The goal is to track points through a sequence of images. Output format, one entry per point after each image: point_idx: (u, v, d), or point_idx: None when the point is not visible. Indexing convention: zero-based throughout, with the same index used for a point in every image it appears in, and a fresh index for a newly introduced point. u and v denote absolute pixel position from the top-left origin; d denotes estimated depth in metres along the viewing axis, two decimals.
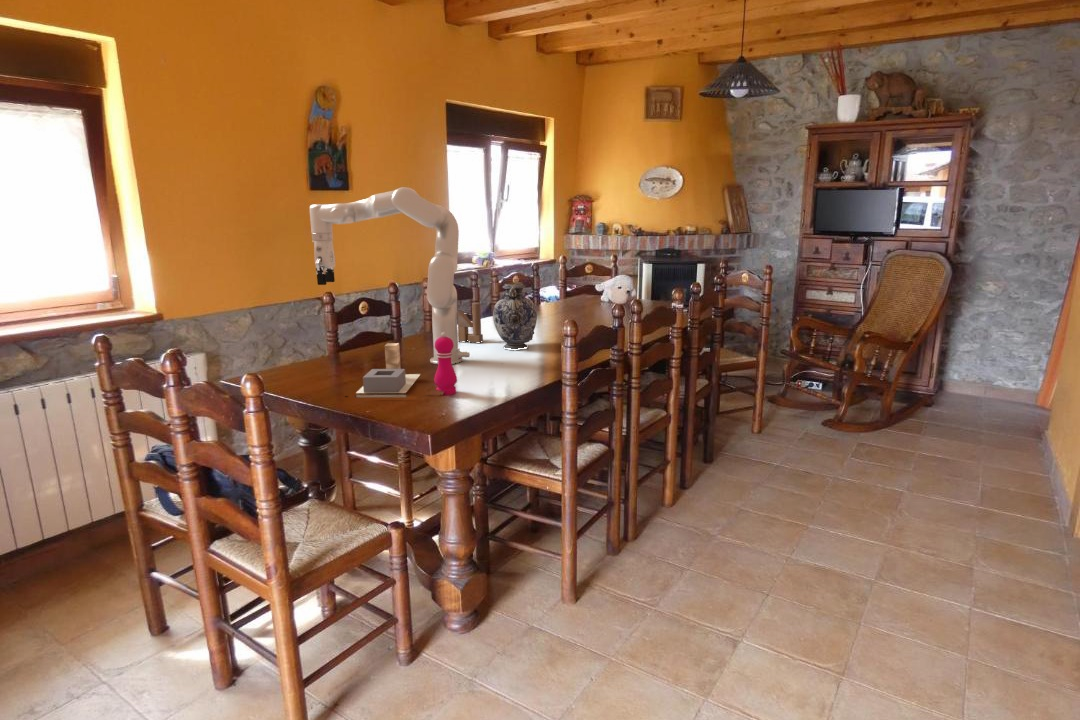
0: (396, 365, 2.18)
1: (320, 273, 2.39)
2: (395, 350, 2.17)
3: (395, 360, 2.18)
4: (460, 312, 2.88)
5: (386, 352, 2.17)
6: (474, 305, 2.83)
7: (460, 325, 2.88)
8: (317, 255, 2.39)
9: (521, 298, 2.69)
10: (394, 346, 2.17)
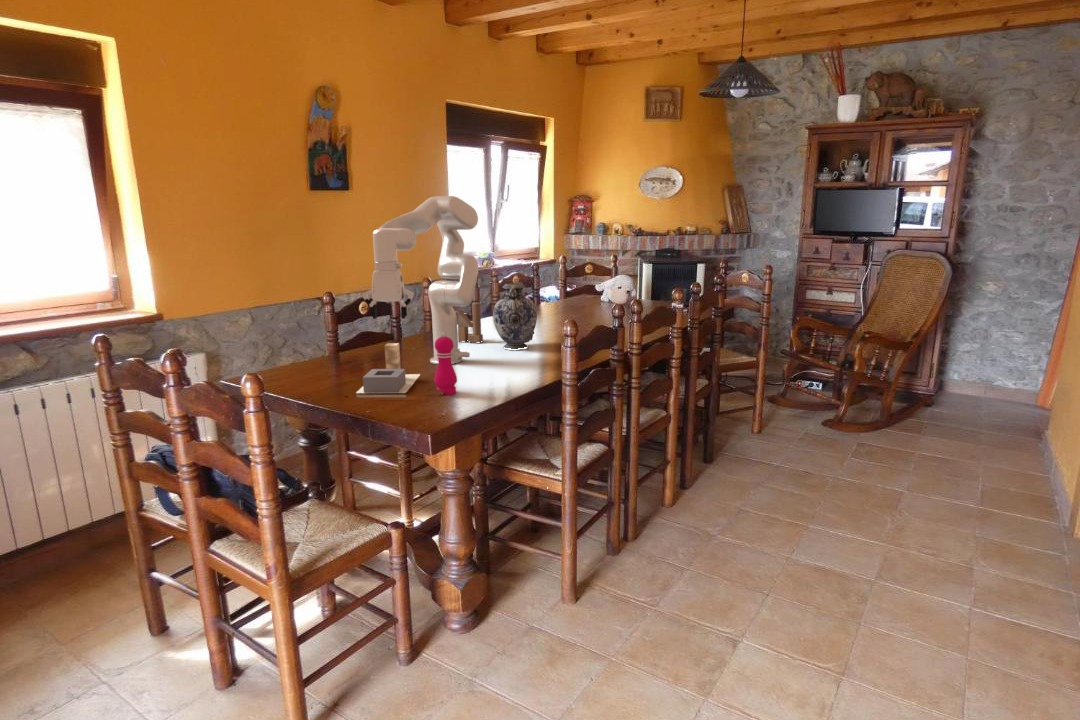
0: (396, 365, 2.18)
1: None
2: (395, 350, 2.17)
3: (395, 360, 2.18)
4: (460, 312, 2.88)
5: (386, 352, 2.17)
6: (474, 305, 2.83)
7: (460, 325, 2.88)
8: (401, 286, 2.14)
9: (521, 298, 2.69)
10: (394, 346, 2.17)
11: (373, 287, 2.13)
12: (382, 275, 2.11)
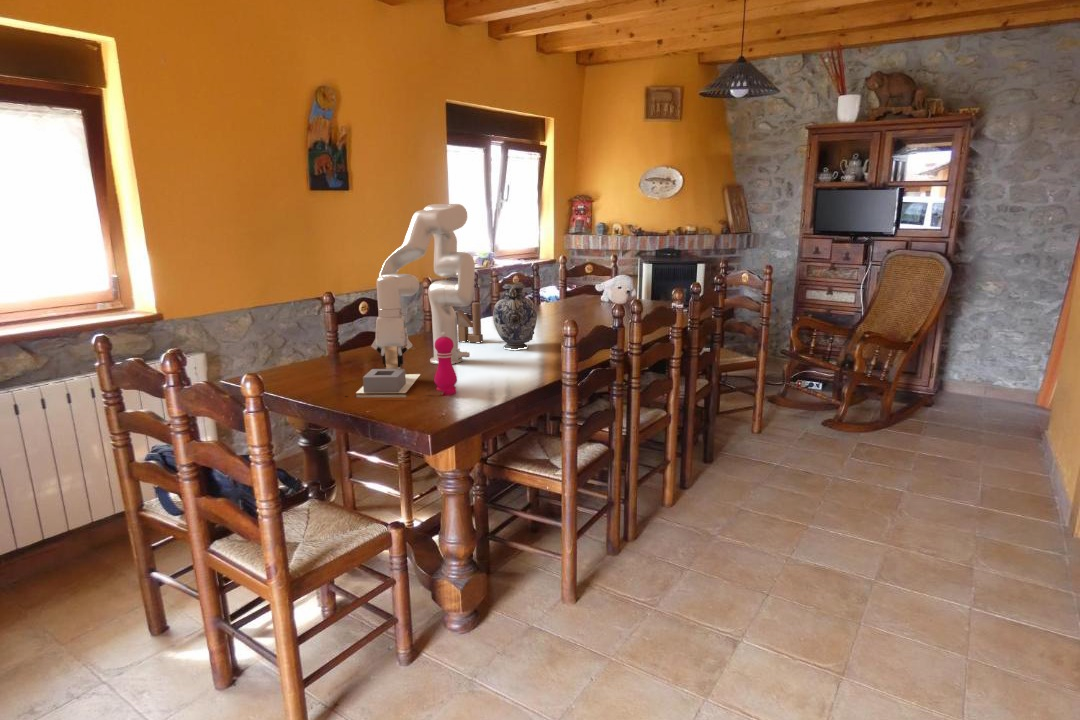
0: (396, 365, 2.18)
1: (402, 354, 2.20)
2: (395, 350, 2.17)
3: (395, 360, 2.18)
4: (460, 312, 2.88)
5: (386, 352, 2.17)
6: (474, 305, 2.83)
7: (460, 325, 2.88)
8: (405, 331, 2.17)
9: (521, 298, 2.69)
10: (394, 346, 2.17)
11: (377, 333, 2.16)
12: (386, 322, 2.15)
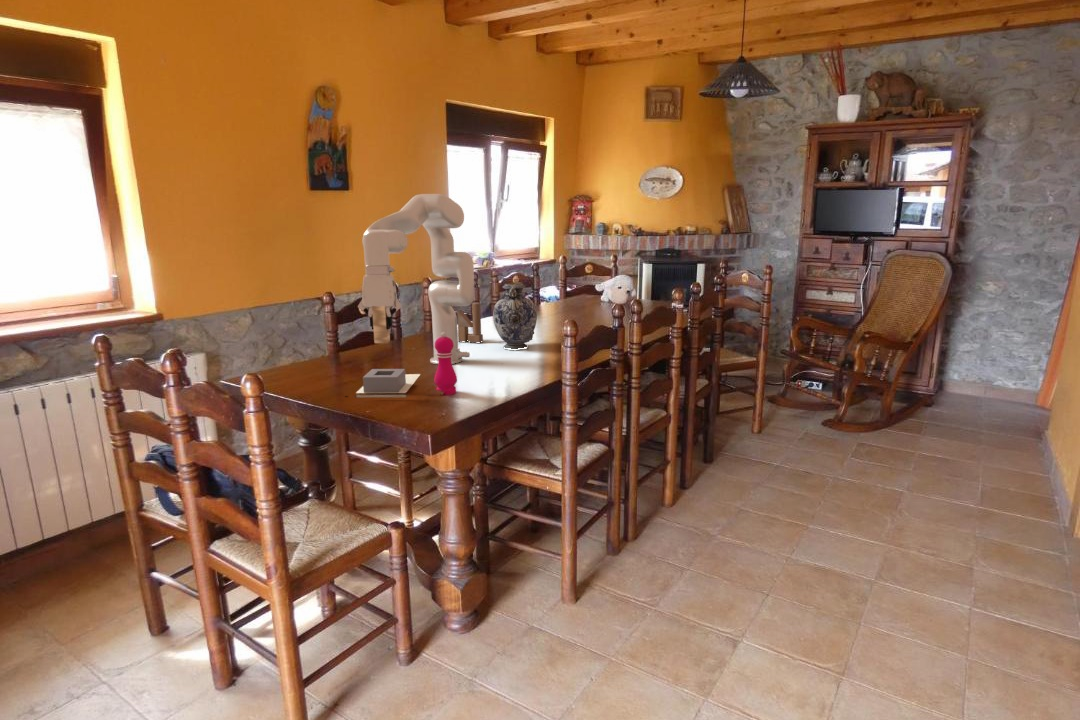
0: (384, 327, 2.03)
1: (391, 316, 2.05)
2: (383, 311, 2.02)
3: (383, 321, 2.03)
4: (460, 312, 2.88)
5: (374, 313, 2.02)
6: (474, 305, 2.83)
7: (460, 325, 2.88)
8: (394, 291, 2.02)
9: (521, 298, 2.69)
10: (382, 306, 2.02)
11: (364, 292, 2.01)
12: (373, 280, 2.00)
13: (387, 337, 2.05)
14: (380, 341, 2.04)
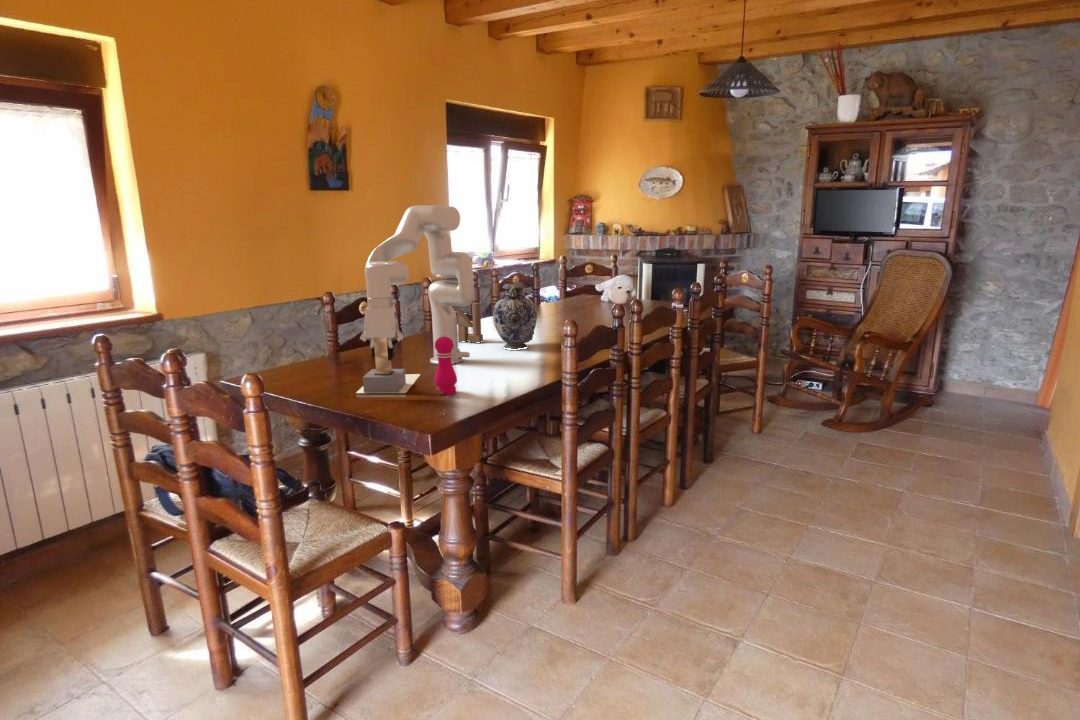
0: (386, 358, 2.05)
1: None
2: (385, 342, 2.04)
3: (385, 353, 2.05)
4: (460, 312, 2.88)
5: (375, 344, 2.04)
6: (474, 305, 2.83)
7: (460, 325, 2.88)
8: (395, 322, 2.04)
9: (521, 298, 2.69)
10: (384, 338, 2.04)
11: (366, 324, 2.03)
12: (375, 312, 2.02)
13: (389, 368, 2.07)
14: (382, 372, 2.06)
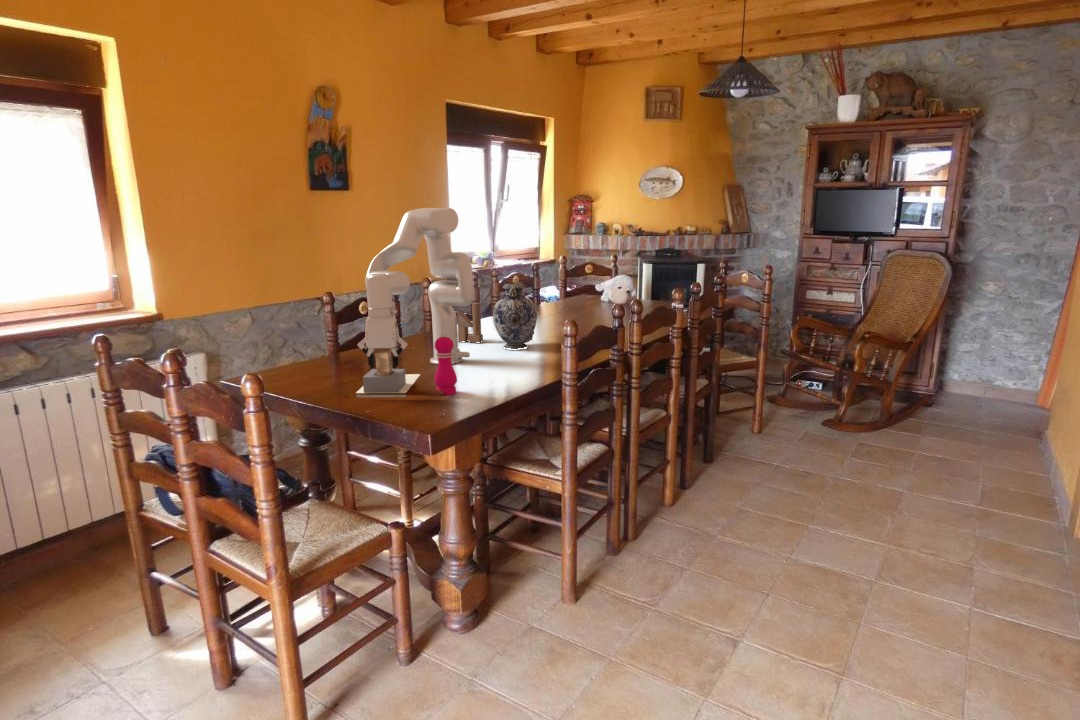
0: (388, 374, 2.07)
1: (398, 354, 2.07)
2: (386, 358, 2.05)
3: (386, 369, 2.06)
4: (460, 312, 2.88)
5: (377, 360, 2.05)
6: (474, 305, 2.83)
7: (460, 325, 2.88)
8: (396, 332, 2.05)
9: (521, 298, 2.69)
10: (385, 354, 2.05)
11: (367, 334, 2.04)
12: (376, 322, 2.02)
13: None
14: None
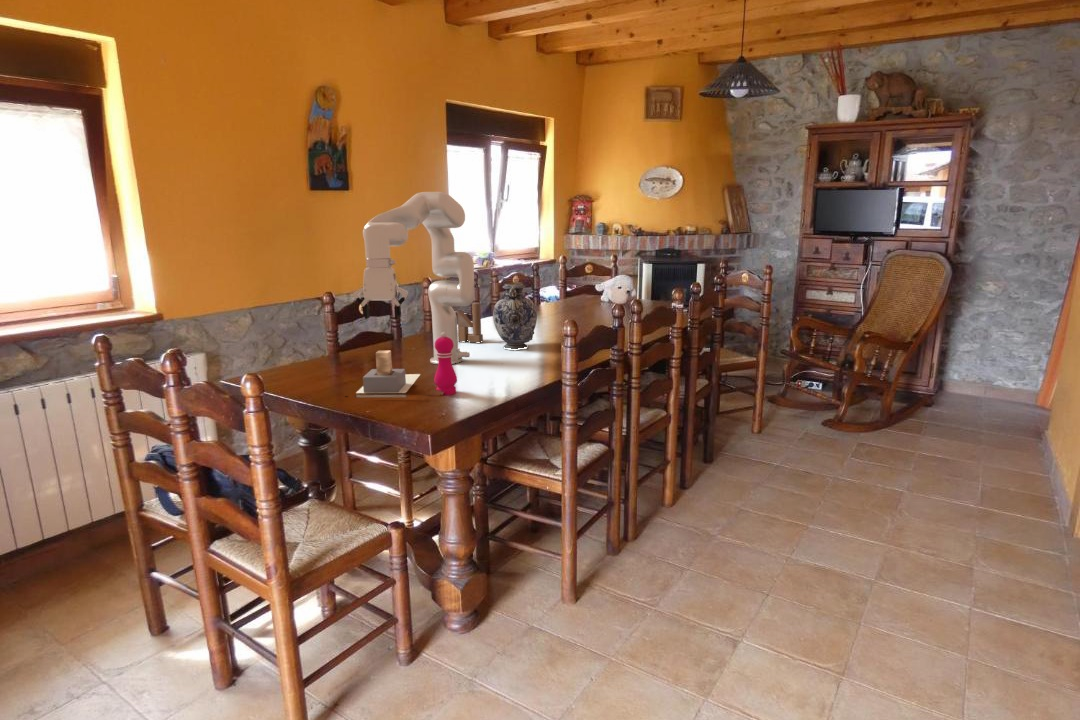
0: (388, 374, 2.07)
1: (400, 304, 2.04)
2: (387, 358, 2.06)
3: (387, 368, 2.06)
4: (460, 312, 2.88)
5: (377, 360, 2.06)
6: (474, 305, 2.83)
7: (460, 325, 2.88)
8: (395, 284, 2.02)
9: (521, 298, 2.69)
10: (386, 354, 2.05)
11: (365, 285, 2.01)
12: (374, 273, 2.00)
13: None
14: None
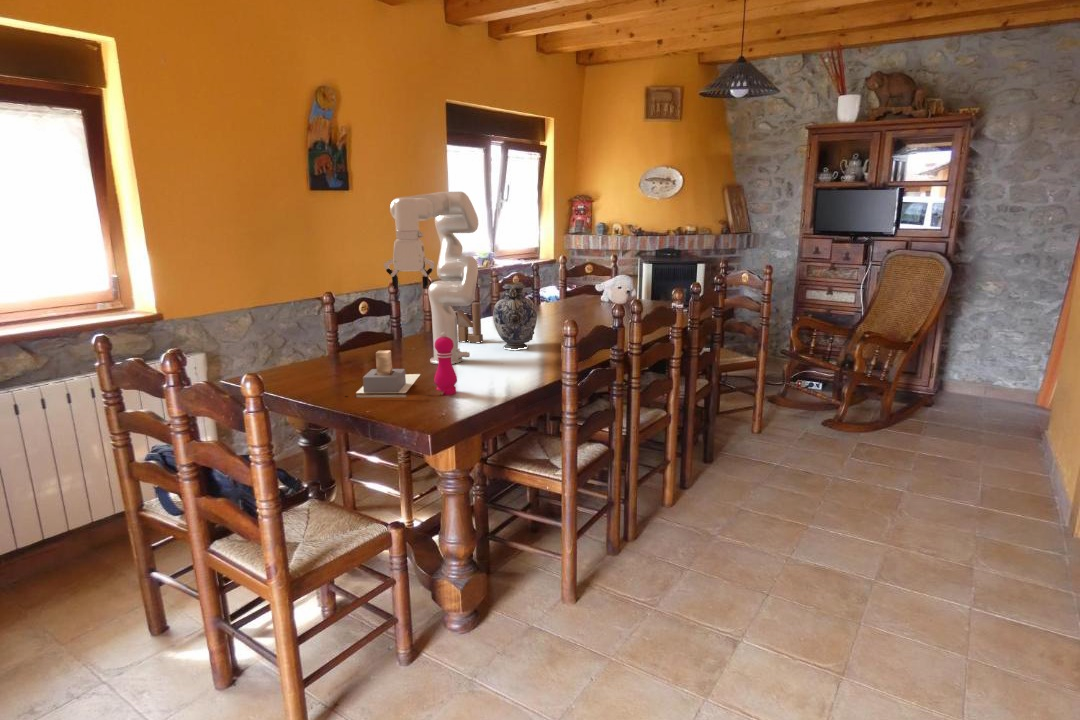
0: (388, 374, 2.07)
1: None
2: (387, 358, 2.06)
3: (387, 368, 2.06)
4: (460, 312, 2.88)
5: (377, 360, 2.06)
6: (474, 305, 2.83)
7: (460, 325, 2.88)
8: (423, 255, 2.13)
9: (521, 298, 2.69)
10: (386, 354, 2.05)
11: (394, 256, 2.12)
12: (404, 244, 2.11)
13: None
14: None
